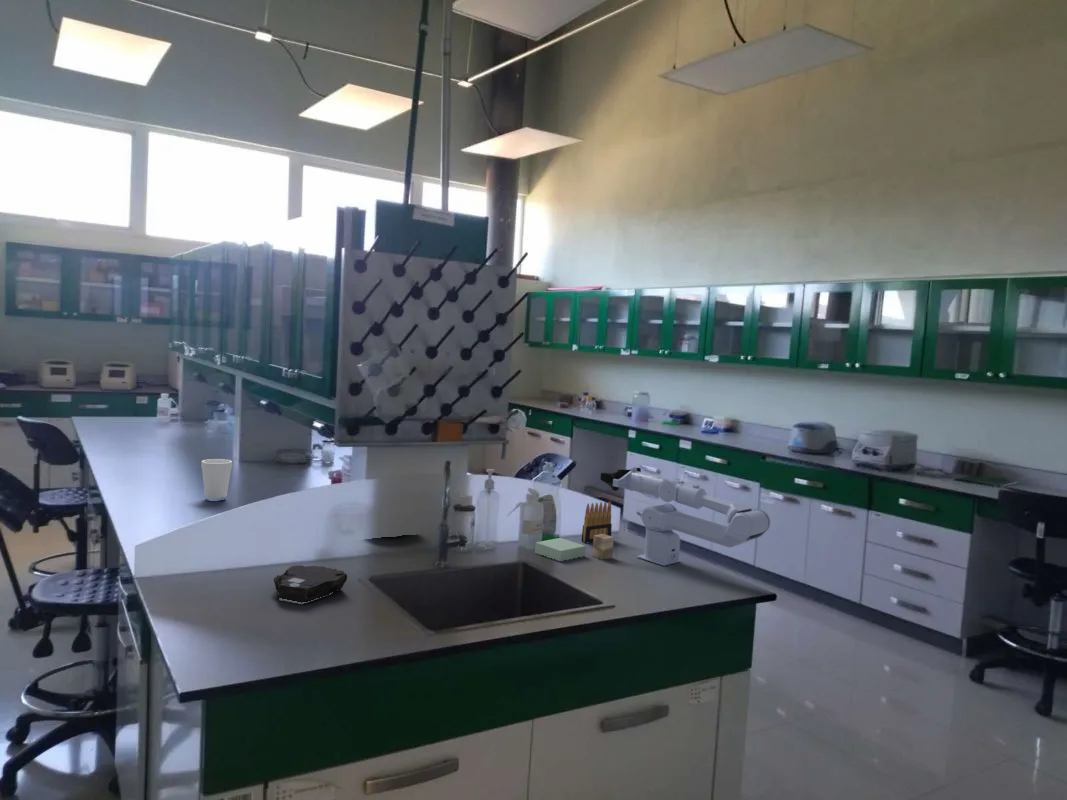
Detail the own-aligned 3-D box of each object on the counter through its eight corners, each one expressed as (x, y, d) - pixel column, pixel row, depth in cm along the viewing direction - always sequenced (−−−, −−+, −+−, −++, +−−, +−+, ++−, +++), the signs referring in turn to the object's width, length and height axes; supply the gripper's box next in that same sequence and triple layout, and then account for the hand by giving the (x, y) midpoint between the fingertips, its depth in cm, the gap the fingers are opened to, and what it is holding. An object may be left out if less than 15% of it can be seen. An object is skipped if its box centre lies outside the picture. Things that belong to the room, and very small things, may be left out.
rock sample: (270, 583, 177) (271, 562, 176) (339, 579, 183) (340, 559, 182) (276, 609, 161) (277, 587, 160) (352, 603, 167) (353, 581, 166)
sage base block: (584, 556, 215) (585, 545, 215) (560, 561, 208) (560, 550, 208) (559, 547, 222) (560, 537, 222) (534, 552, 216) (535, 542, 215)
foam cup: (236, 500, 257) (238, 461, 256) (212, 504, 249) (213, 464, 248) (219, 495, 262) (220, 458, 261) (194, 499, 254) (195, 460, 253)
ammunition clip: (585, 543, 229) (587, 504, 229) (581, 541, 231) (583, 502, 230) (611, 539, 236) (614, 501, 235) (607, 538, 237) (610, 500, 237)
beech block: (612, 557, 216) (613, 537, 215) (602, 559, 213) (604, 538, 213) (601, 554, 219) (603, 533, 218) (592, 556, 216) (593, 535, 215)
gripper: (662, 467, 224) (625, 458, 234) (630, 473, 214) (594, 464, 223) (660, 490, 225) (624, 481, 234) (629, 497, 215) (593, 487, 224)
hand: (609, 474), depth 229 cm, fingers open, 7 cm apart
